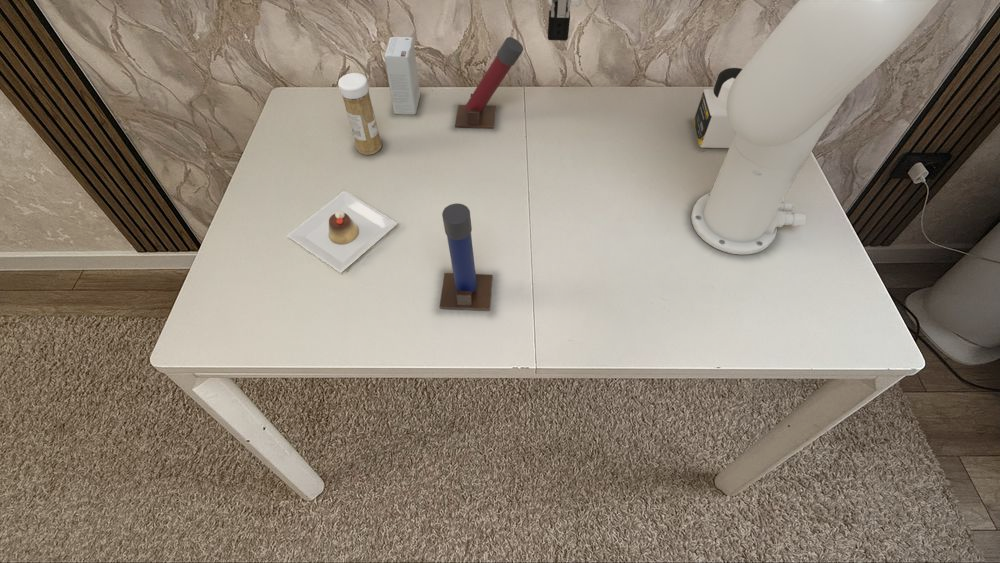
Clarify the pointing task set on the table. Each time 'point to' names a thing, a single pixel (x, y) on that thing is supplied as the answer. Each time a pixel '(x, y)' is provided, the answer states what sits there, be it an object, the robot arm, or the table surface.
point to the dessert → (342, 230)
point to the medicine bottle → (715, 113)
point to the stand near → (466, 294)
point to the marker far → (495, 74)
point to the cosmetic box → (402, 75)
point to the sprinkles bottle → (360, 112)
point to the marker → (460, 246)
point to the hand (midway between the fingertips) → (557, 37)
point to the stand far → (475, 117)
